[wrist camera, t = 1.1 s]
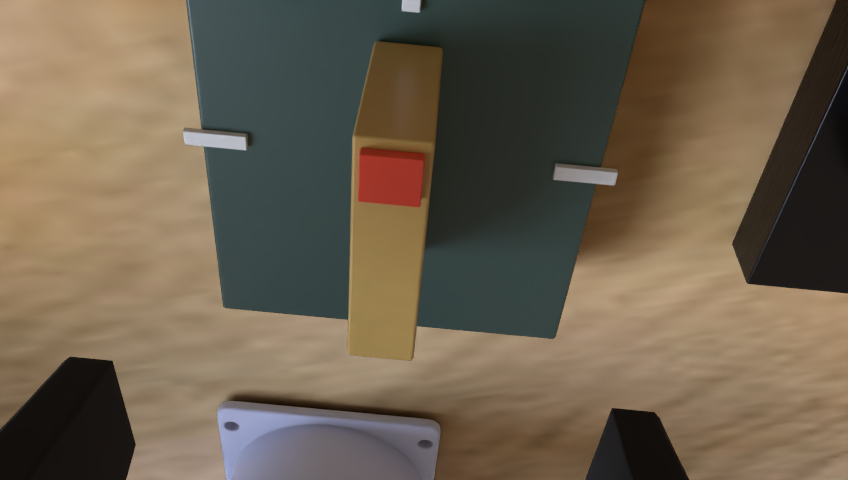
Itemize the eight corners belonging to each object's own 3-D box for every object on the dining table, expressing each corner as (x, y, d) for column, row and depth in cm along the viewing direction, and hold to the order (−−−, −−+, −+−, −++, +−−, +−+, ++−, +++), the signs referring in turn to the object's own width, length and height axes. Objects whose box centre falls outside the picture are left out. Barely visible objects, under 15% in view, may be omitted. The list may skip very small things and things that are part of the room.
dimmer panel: (559, 267, 24) (568, 346, 21) (236, 236, 24) (207, 312, 21) (657, -122, 17) (688, -71, 14) (196, -167, 17) (147, -123, 14)
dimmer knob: (422, 251, 20) (412, 370, 17) (366, 246, 20) (345, 364, 17) (443, 46, 16) (434, 152, 13) (374, 39, 16) (349, 143, 13)
